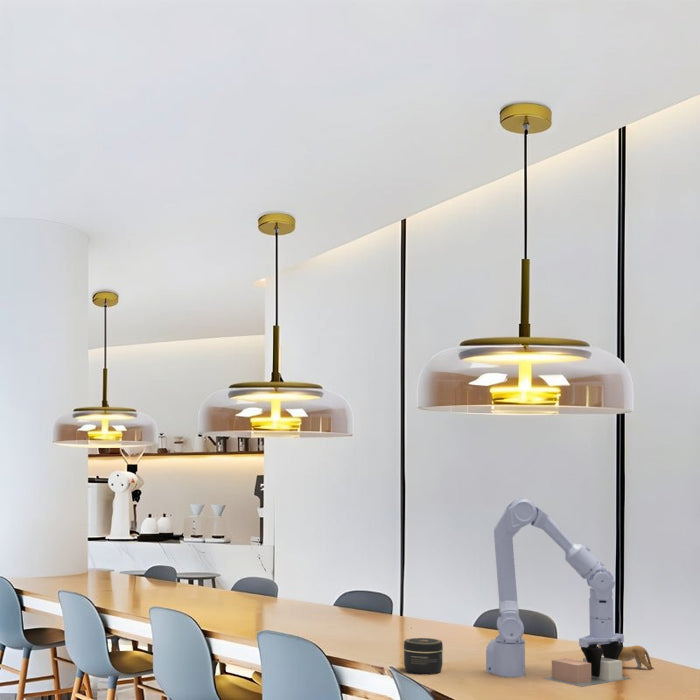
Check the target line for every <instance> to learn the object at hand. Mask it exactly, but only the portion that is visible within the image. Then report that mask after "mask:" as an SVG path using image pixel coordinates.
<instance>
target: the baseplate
mask: <svg viewBox="0 0 700 700" xmlns="http://www.w3.org/2000/svg"><path fill="white" fill-rule="evenodd" d="M622 678H623V679H618V680H612V681H607V680H602V679H597V678H593V677H591V682H585V683H578V684H577V683H572V682H568V681H563V680H558V679H554V678H552V676H550V677H543V678H542V679H544V680H548V681H552V682H557V683H562V684H567V685H570V686H571V685H572V686H575V687H578V688H579V687H580V688H584V687H590V686H595V685H603V684H607V683H613V682H619V681H626V680H632V678H630V677H626V676H622Z"/></svg>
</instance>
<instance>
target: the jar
mask: <svg viewBox="0 0 700 700" xmlns="http://www.w3.org/2000/svg"><path fill="white" fill-rule="evenodd" d="M443 647H444V645H443V641H442V640H440V639H437V638H429V637H413V638H407V639H405V640H404V641H403V663H404V664H403V666H404V669H405V671H406V672H407V673H410V674H413V675H422V674H428V675H432V674H431V673H437V674H439V673H441V672H442V668H443V651H444V649H443ZM438 672H439V673H438Z"/></svg>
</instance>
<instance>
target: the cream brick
mask: <svg viewBox="0 0 700 700" xmlns="http://www.w3.org/2000/svg"><path fill="white" fill-rule="evenodd" d="M582 662H587V660H586V657H583V658H582ZM587 663H588V662H587ZM591 677H593V678H597V679H602V680H607V681H612V680H618V679H623V678H622V677H623V661H620V660H615V659H609V658H604V656H602V657H601V662H600V675H599V677H595V676H591Z"/></svg>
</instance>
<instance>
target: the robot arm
mask: <svg viewBox="0 0 700 700" xmlns="http://www.w3.org/2000/svg"><path fill="white" fill-rule="evenodd" d="M529 524H530V526H532V527H535V528H537V529H541V530H542V531H544V533H546V534H547V536H548V537H549V538H551V539H552V540H553V541H554V543H555V544H557V545H558V546H559V547H560V548H561V549H562V551H564V555H565V557H564V558H565V559H564V560H565V561H566V563H568V564H569V566H571V568H573V569H574V570H575V571H576V573H577V574H578V575H579V576H580V577H581V578H582V579H583V580H584V579H585V580H586V583H587V585H588V586H589V587H590V588H589V598H588V599H589V600H588V601H589V602H588V604H589V605H588V606H589V607H588V608H589V609H588V611H589V614H588V615H589V635H587V636H586V635H585V636H584V637H580V638H578V646H579V647H580V650H581V652H582V653H583V655H584V658H586V660H587V662H588V663H591V676H595V677H599V675H600V662H601V657H604V658H609V659H615V660H618V657H619V655H620V653H621V651H622V649H623V646H624V645H623V643H625V635H624V633H614V626H615V625H614V599H613V589H614V588H615V583H616V581H615V579H614V575H612V574H611V572H610V571H608V570H607V569H606V568H605V567H604V566H605V564H604V563H603V562H602V561H599V560H598V559H597V558H596V557H595V556H594V555H593V554H592V552H591V548H590V547H589V546H587V545H586V546H584V545H583V544H582V543H574V541H572V540H571V538H570V537H569V536H568V535H567V534H566V533H565V532H564V531H563V530H562V528H560V527H559V525H558V524H557V523H556V522H555V521H554V520H553V519H552V518H551V516H549V514H548V513H546V512H545V511H543V509H541V508H540V507H538V506H536V505H535V504H534V502H533V501H531V500H530V499H527V498H521V497H520V498H519V497H518V498H517V499H514V500H513V501H512V502H511V503H509V504H508V505H507V506H506V507H505V509H504V510H503V513H502V515H501V516H500V518H499V520H498V521H497V523H496V525H495V527H494V528H493V536H494V537H493V538H494V553H495V563H496V565H495V566H496V578H497V589H498V590H497V591H498V592H497V593H498V609H499V610H498V613H499V614H498V617H497V619H496V629H497V631H498V635H497V636H495V638H494V639H491V640H490V641H489V642H488V643H487V646H486V649H485V650H486V651H485V654H486V655H485V656H486V657H485V658H486V659H485V660H486V662H485V663H486V664H485V666H486V667H485V668H486V669H485V670H486V673H489V674H492V675H497V676H499V677H502V678H503V677H504V678H522V677H526V639H524V638H523V636H524V632H525V626H524V623H523V621H522V619H521V617H520V610H519V604H518V594H517V593H518V591H517V579H516V578H517V577H516V568H515V567H516V566H515V565H516V564H515V556H514V555H515V554H514V541H513V539H514V537H515V535H516V534H517V533H519V531H520V530H521V529H522V528H524V527H526V526H527V525H529ZM618 643H619V644H618ZM621 643H622V644H621ZM598 645H601V648H598ZM602 653H603V655H604V656H603V655H602Z"/></svg>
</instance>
